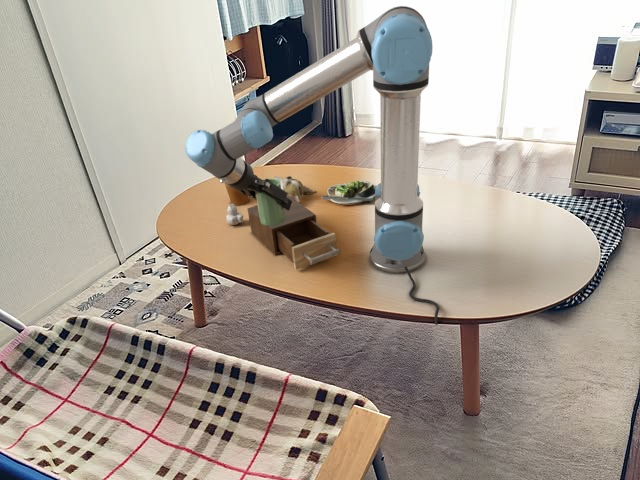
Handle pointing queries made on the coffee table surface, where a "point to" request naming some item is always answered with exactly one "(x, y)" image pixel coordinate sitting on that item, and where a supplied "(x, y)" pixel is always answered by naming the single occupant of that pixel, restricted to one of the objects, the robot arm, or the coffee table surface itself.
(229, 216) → the white animal figurine
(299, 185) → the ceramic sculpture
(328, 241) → the drawer
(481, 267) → the coffee table surface
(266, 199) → the pot
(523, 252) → the coffee table surface
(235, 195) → the disposable coffee cup
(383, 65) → the robot arm
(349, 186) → the avocado toast plate
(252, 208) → the cabinet
